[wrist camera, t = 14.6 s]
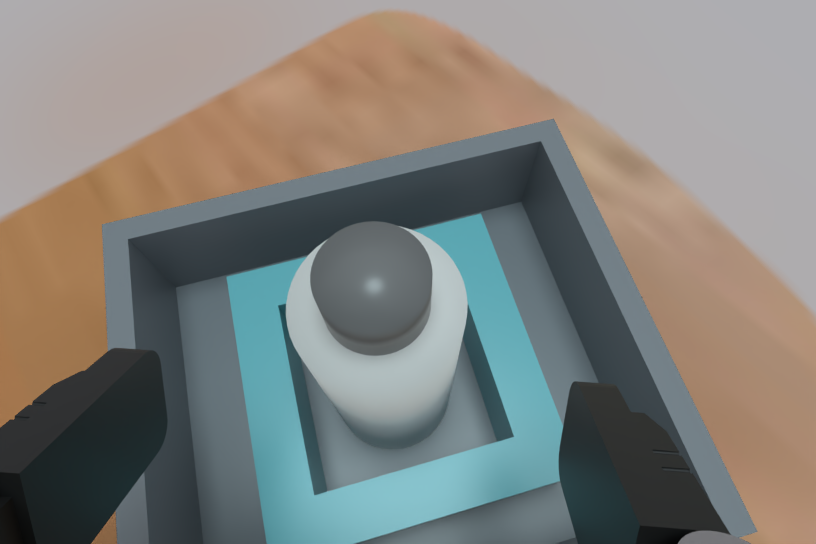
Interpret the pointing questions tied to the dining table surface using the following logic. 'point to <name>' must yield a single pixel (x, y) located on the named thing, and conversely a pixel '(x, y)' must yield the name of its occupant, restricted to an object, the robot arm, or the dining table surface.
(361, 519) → the walled box
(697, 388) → the dining table surface
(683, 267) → the dining table surface
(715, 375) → the dining table surface
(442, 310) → the plug
